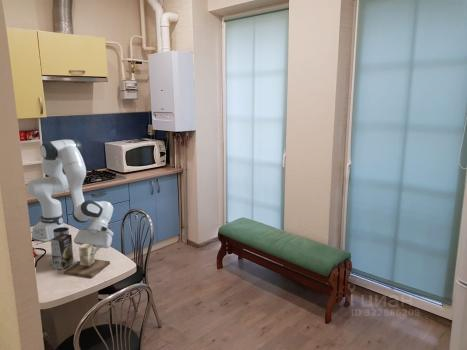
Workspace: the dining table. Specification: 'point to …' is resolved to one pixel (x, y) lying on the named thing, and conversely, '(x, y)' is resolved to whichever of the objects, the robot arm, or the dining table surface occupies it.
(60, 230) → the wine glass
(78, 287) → the dining table surface
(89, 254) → the maple block
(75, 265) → the walnut board
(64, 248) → the coffee box
